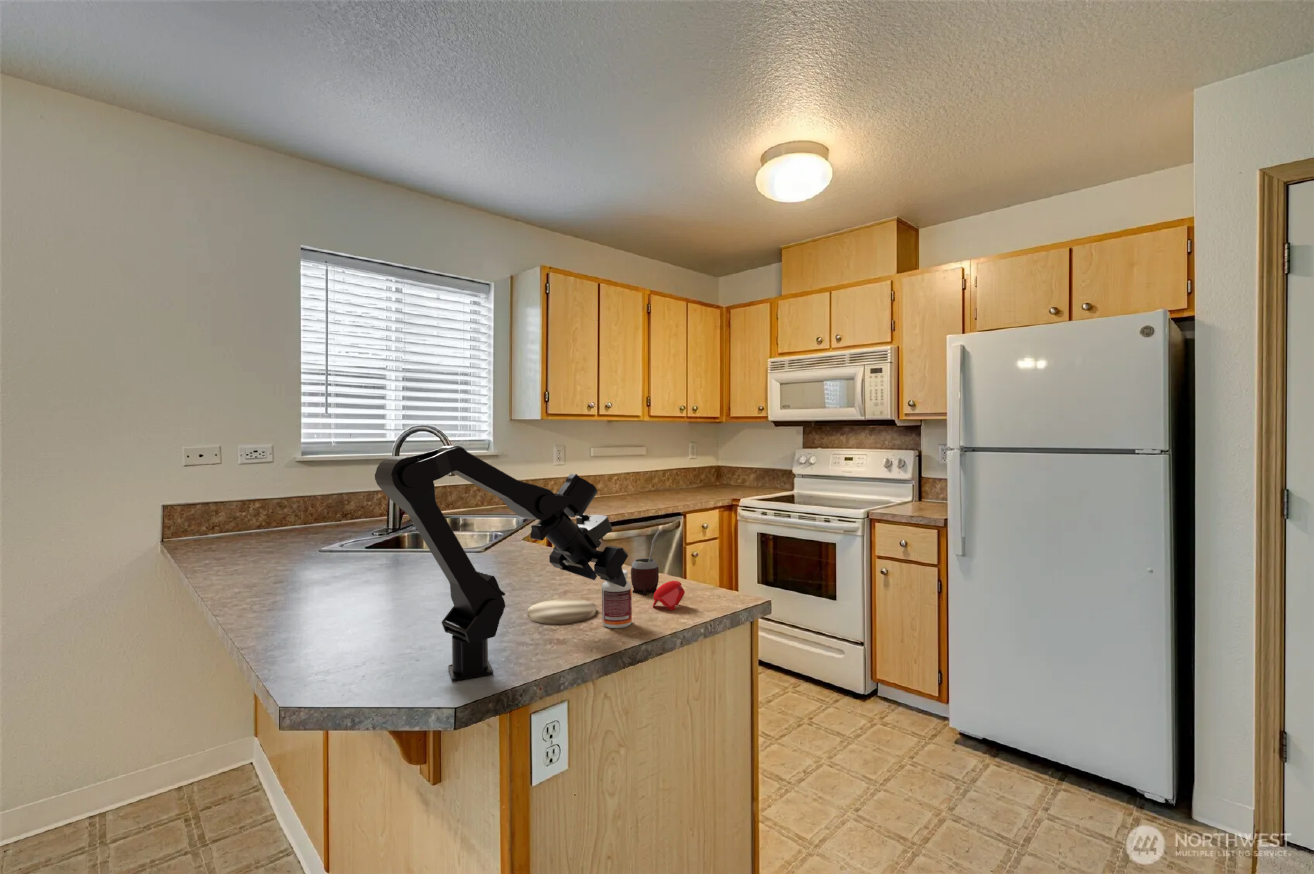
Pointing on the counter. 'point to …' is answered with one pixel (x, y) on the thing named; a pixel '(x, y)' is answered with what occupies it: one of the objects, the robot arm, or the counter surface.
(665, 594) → the cap
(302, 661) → the counter surface
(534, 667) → the counter surface
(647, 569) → the mate gourd
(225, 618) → the counter surface
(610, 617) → the pill bottle
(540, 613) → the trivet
